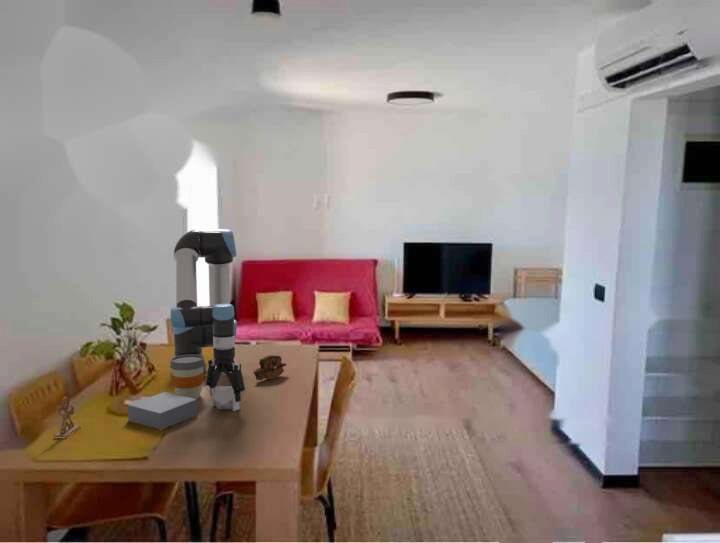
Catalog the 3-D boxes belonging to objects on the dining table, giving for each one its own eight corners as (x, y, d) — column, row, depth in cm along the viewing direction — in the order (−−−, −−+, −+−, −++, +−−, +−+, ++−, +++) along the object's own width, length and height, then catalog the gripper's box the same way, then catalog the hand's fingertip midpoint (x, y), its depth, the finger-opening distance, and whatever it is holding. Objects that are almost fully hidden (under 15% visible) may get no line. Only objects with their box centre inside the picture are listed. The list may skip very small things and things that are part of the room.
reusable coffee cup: (211, 396, 220) (210, 358, 219) (182, 404, 211) (180, 365, 210) (194, 389, 229) (193, 352, 227) (165, 396, 220) (163, 358, 218)
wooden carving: (260, 384, 235) (259, 361, 234) (252, 382, 238) (252, 359, 237) (288, 375, 248) (288, 352, 247) (281, 373, 251) (280, 351, 250)
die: (225, 415, 202) (240, 392, 204) (205, 402, 203) (220, 379, 205) (229, 415, 210) (244, 393, 212) (210, 403, 211) (225, 380, 213)
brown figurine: (69, 427, 189) (67, 392, 188) (80, 428, 189) (78, 393, 187) (53, 438, 180) (51, 401, 179) (65, 439, 180) (63, 402, 179)
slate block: (128, 421, 196) (127, 404, 195) (165, 407, 209) (165, 391, 209) (160, 431, 188) (160, 413, 187) (197, 415, 201) (196, 399, 201)
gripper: (194, 345, 208) (195, 405, 210) (240, 353, 197) (241, 416, 199) (209, 341, 214) (210, 399, 217) (254, 348, 203) (255, 409, 206)
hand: (225, 407), depth 208 cm, fingers closed on die, 9 cm apart
